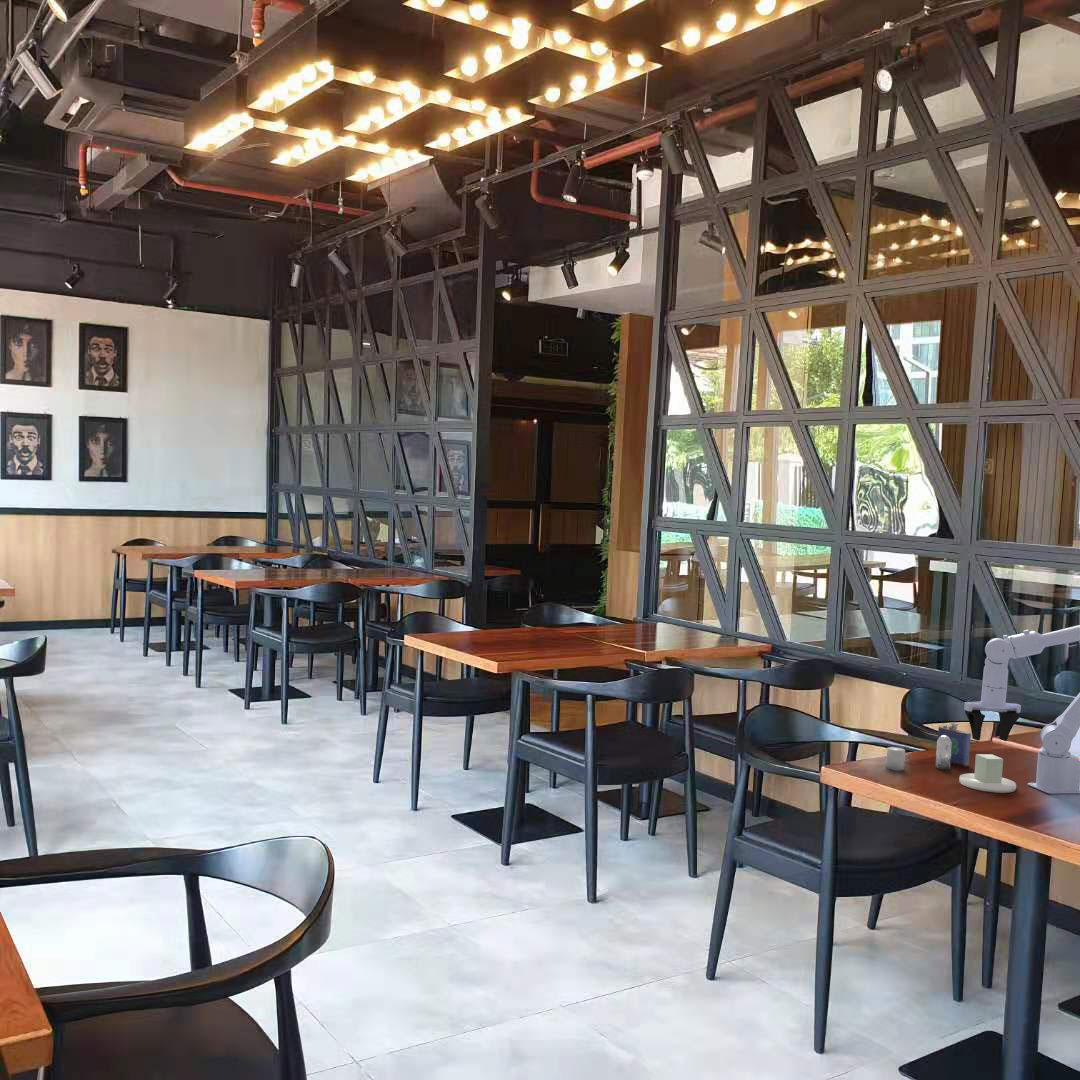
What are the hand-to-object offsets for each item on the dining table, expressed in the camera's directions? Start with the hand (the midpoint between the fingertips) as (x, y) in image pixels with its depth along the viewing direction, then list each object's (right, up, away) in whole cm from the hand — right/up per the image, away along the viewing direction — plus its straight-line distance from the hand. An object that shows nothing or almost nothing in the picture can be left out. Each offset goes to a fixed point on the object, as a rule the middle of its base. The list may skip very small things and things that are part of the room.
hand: (989, 739), depth 271 cm
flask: (-3, -10, +18) cm, 21 cm away
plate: (-2, -11, -4) cm, 12 cm away
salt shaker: (-7, -10, +12) cm, 17 cm away
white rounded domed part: (-21, -9, +8) cm, 24 cm away
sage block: (-2, -9, -4) cm, 10 cm away
